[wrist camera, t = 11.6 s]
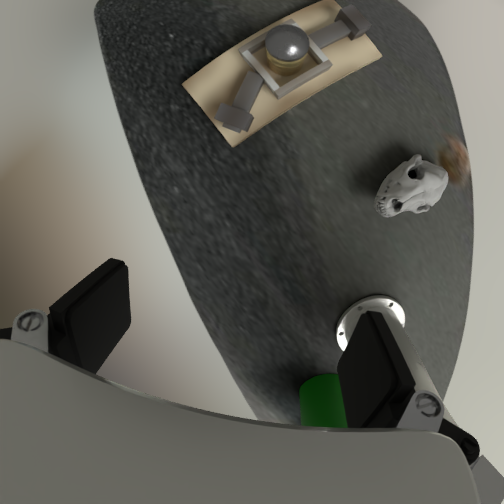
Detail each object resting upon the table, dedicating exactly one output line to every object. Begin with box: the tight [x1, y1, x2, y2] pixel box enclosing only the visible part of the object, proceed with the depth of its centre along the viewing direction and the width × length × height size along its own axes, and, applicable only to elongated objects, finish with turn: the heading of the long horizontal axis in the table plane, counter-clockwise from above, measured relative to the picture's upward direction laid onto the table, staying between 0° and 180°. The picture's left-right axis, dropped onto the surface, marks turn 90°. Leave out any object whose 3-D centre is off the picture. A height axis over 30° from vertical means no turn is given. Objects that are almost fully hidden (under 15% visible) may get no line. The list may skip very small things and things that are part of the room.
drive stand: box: [182, 0, 382, 147], centre depth 26 cm, size 11×24×6 cm, turn 126°
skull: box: [374, 154, 448, 217], centre depth 30 cm, size 8×9×12 cm
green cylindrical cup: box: [299, 374, 348, 428], centre depth 40 cm, size 10×9×20 cm
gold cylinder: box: [265, 24, 310, 76], centre depth 24 cm, size 4×4×7 cm
